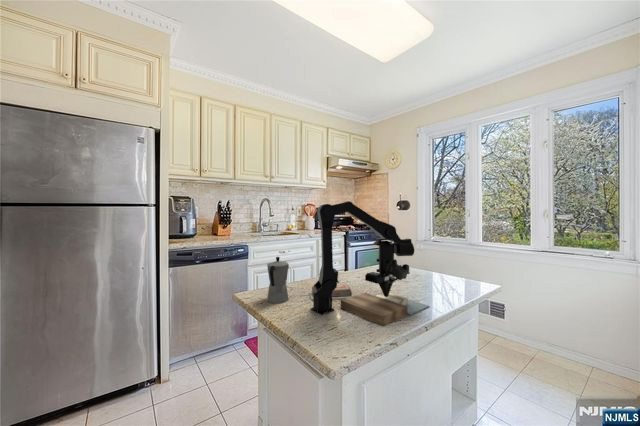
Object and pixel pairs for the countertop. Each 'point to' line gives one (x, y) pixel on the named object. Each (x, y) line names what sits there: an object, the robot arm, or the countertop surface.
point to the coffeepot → (277, 281)
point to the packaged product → (336, 292)
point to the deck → (374, 308)
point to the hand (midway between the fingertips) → (386, 296)
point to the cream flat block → (394, 298)
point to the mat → (413, 306)
